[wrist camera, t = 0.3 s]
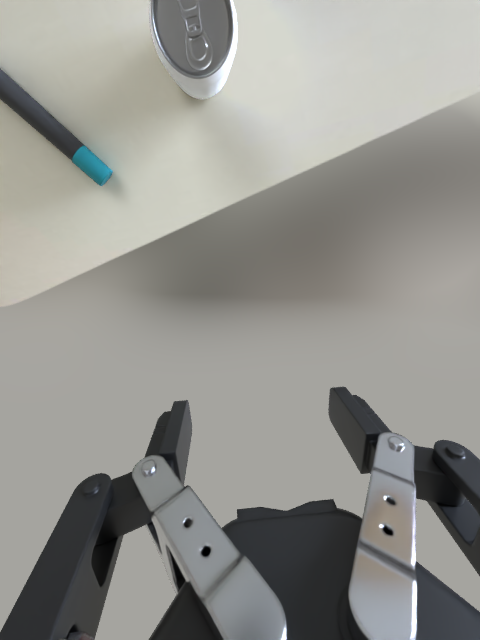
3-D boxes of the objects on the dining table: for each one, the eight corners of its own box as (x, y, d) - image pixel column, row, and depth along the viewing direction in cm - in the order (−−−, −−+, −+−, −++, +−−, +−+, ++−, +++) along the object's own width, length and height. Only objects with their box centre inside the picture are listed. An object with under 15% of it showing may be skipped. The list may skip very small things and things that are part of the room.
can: (180, 106, 29) (166, 96, 19) (157, 22, 25) (125, -41, 16) (235, 91, 29) (248, 74, 19) (221, 4, 25) (228, -73, 15)
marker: (-25, 61, 26) (-45, 68, 24) (-25, 38, 24) (-47, 43, 23) (108, 180, 33) (98, 189, 32) (115, 168, 31) (104, 177, 30)
